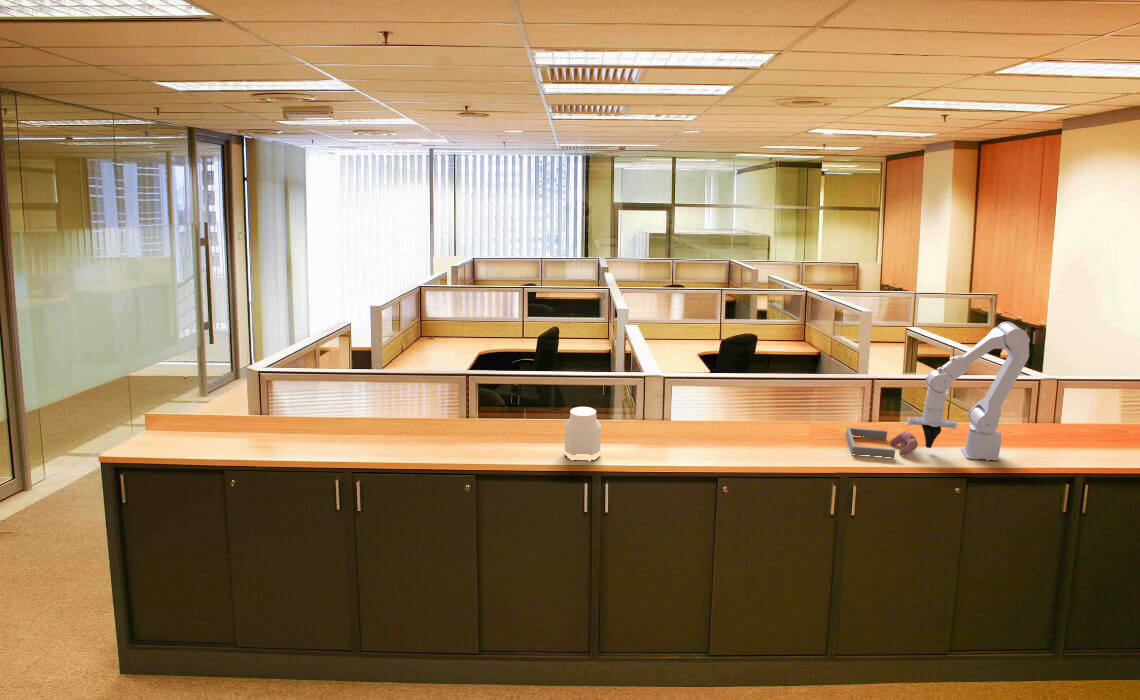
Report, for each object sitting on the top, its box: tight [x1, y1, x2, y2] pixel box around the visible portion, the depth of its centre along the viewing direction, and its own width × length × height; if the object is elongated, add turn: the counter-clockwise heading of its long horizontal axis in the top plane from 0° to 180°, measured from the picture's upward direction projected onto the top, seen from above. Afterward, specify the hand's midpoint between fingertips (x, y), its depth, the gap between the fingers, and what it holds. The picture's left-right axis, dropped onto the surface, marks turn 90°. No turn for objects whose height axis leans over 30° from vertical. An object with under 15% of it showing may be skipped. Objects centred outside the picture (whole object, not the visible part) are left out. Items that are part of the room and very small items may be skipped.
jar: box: [564, 406, 602, 455], centre depth 259 cm, size 12×10×15 cm
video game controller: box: [889, 431, 919, 456], centre depth 267 cm, size 10×5×7 cm, turn 179°
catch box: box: [845, 426, 896, 459], centre depth 269 cm, size 13×17×3 cm
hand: (928, 446), depth 266 cm, fingers closed
